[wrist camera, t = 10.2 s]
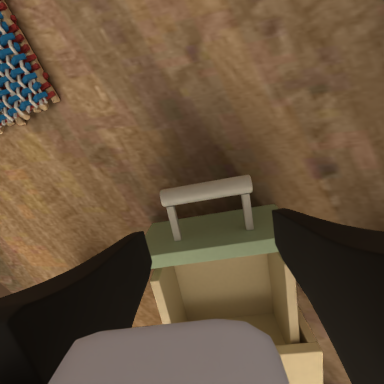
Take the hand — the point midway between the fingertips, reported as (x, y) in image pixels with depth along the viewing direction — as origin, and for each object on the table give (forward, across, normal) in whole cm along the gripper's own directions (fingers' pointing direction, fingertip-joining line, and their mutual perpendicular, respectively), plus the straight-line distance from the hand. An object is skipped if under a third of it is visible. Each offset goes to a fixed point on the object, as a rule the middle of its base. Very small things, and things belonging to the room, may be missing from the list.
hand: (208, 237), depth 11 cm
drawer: (+10, 0, +7) cm, 12 cm away
